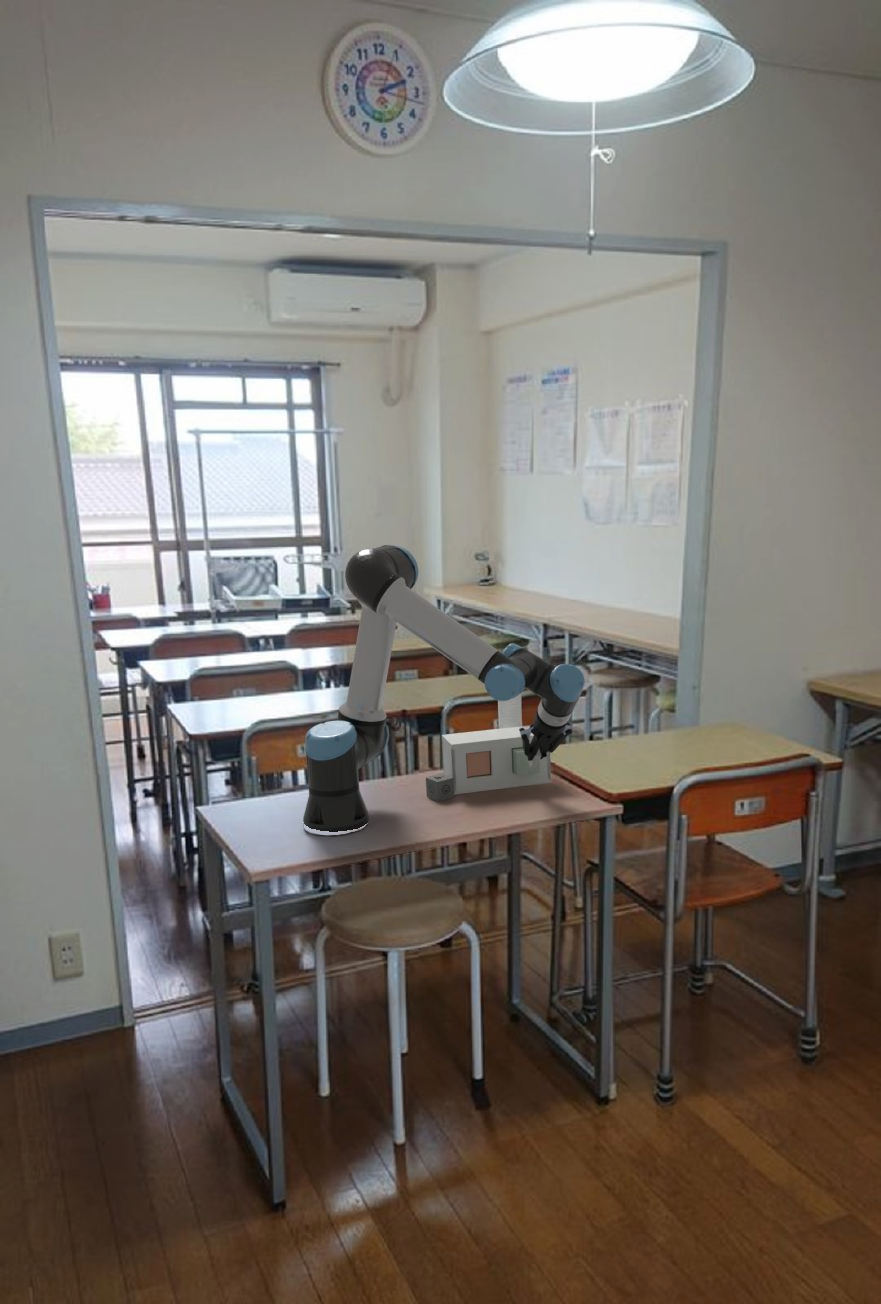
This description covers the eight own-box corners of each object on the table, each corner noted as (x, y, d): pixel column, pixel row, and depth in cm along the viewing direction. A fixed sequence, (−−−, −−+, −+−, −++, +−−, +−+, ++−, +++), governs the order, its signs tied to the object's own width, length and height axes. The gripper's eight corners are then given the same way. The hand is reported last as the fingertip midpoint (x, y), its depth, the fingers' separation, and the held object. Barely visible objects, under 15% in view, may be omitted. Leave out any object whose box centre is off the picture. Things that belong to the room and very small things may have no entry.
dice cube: (426, 796, 230) (425, 777, 229) (442, 792, 233) (441, 773, 232) (438, 801, 226) (437, 782, 225) (454, 796, 228) (453, 777, 228)
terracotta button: (467, 776, 231) (466, 753, 230) (460, 769, 238) (459, 746, 237) (490, 774, 232) (489, 751, 231) (482, 766, 239) (481, 744, 238)
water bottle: (495, 764, 254) (492, 676, 250) (513, 759, 258) (510, 672, 253) (515, 771, 247) (512, 680, 243) (533, 766, 250) (531, 677, 246)
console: (453, 794, 230) (451, 744, 228) (444, 782, 240) (441, 734, 237) (550, 782, 236) (549, 733, 234) (537, 771, 245) (536, 724, 243)
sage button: (517, 775, 230) (516, 752, 229) (508, 767, 237) (507, 745, 236) (539, 772, 231) (539, 749, 230) (530, 765, 238) (529, 742, 237)
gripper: (530, 730, 206) (510, 780, 224) (584, 725, 208) (560, 774, 227) (522, 702, 210) (502, 754, 229) (575, 697, 213) (552, 748, 231)
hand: (531, 764), depth 228 cm, fingers closed
